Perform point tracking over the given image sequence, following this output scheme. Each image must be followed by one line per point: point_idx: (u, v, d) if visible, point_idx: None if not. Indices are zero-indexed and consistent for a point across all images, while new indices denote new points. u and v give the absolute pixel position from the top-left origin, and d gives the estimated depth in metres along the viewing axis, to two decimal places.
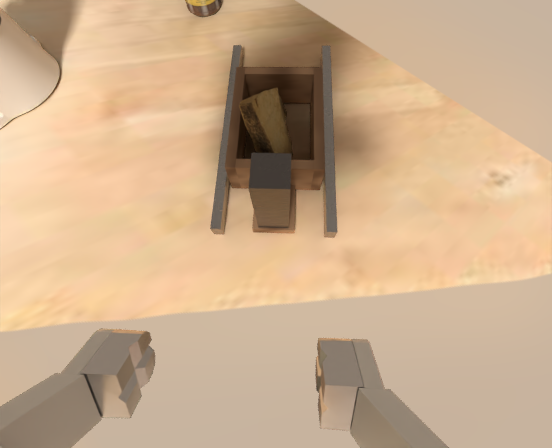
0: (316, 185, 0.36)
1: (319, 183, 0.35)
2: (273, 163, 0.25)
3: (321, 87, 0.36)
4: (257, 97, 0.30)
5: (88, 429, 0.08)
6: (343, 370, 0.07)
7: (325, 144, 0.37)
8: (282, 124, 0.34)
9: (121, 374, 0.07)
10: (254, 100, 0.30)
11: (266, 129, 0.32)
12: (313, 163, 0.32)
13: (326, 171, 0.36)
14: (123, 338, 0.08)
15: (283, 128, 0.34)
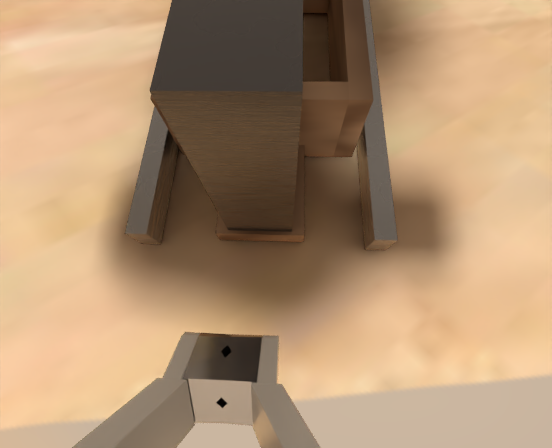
0: (346, 146, 0.18)
1: (353, 140, 0.17)
2: (242, 16, 0.07)
3: None
4: None
5: (185, 434, 0.08)
6: (242, 365, 0.07)
7: None
8: None
9: None
10: None
11: None
12: (346, 88, 0.15)
13: (366, 118, 0.18)
14: (212, 342, 0.08)
15: None
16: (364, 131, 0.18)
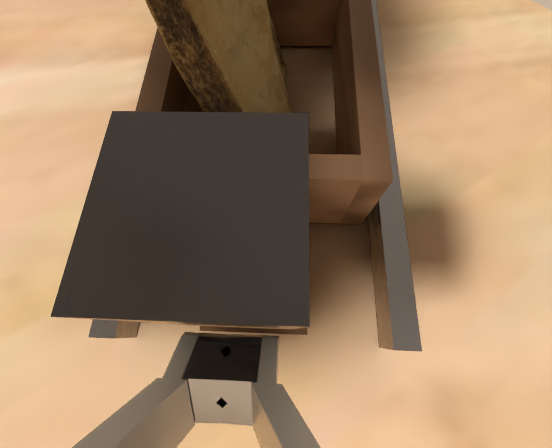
0: (356, 215, 0.15)
1: (365, 212, 0.15)
2: (213, 162, 0.05)
3: None
4: None
5: (185, 434, 0.08)
6: (242, 365, 0.07)
7: None
8: (275, 69, 0.13)
9: None
10: None
11: (229, 74, 0.12)
12: (359, 163, 0.12)
13: None
14: (212, 342, 0.08)
15: (277, 80, 0.14)
16: (378, 202, 0.15)
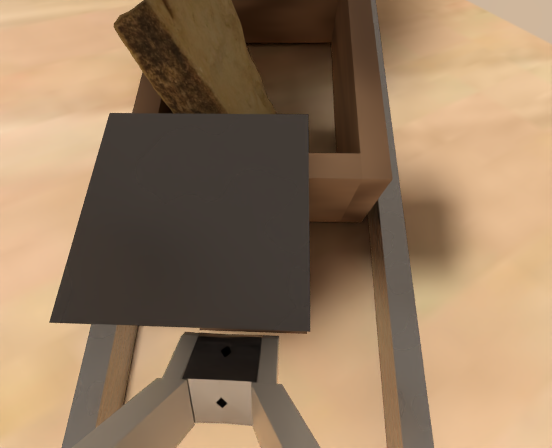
0: (356, 214, 0.15)
1: (364, 210, 0.15)
2: (212, 164, 0.05)
3: None
4: None
5: (185, 434, 0.08)
6: (242, 365, 0.07)
7: (380, 204, 0.15)
8: (256, 75, 0.13)
9: None
10: None
11: (217, 90, 0.11)
12: (358, 162, 0.12)
13: (389, 283, 0.13)
14: (212, 342, 0.08)
15: (261, 86, 0.13)
16: (387, 303, 0.13)
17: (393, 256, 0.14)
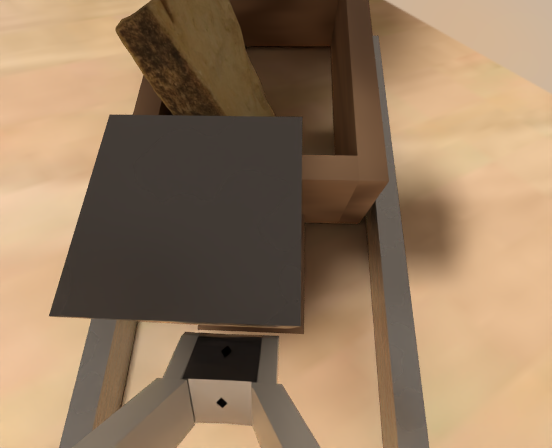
0: (353, 216, 0.15)
1: (362, 212, 0.15)
2: (209, 164, 0.05)
3: None
4: None
5: (185, 434, 0.08)
6: (242, 365, 0.07)
7: (388, 312, 0.13)
8: (255, 78, 0.13)
9: None
10: None
11: (217, 93, 0.11)
12: (356, 164, 0.12)
13: (399, 416, 0.12)
14: (212, 342, 0.08)
15: (260, 89, 0.14)
16: (397, 442, 0.11)
17: (403, 381, 0.12)
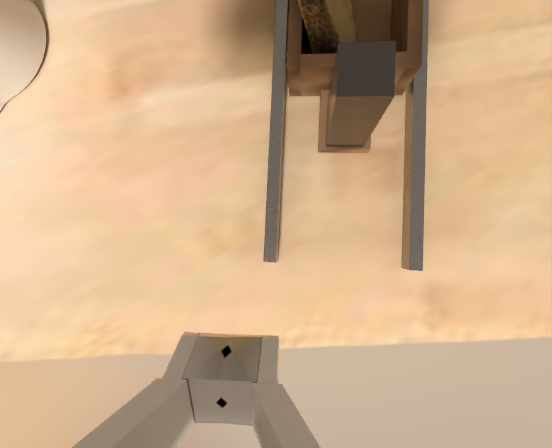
0: (400, 89, 0.28)
1: (405, 86, 0.27)
2: (369, 57, 0.18)
3: None
4: None
5: (185, 434, 0.08)
6: (242, 365, 0.07)
7: (413, 141, 0.27)
8: (350, 5, 0.24)
9: None
10: None
11: (334, 17, 0.23)
12: (405, 56, 0.24)
13: (412, 183, 0.27)
14: (212, 342, 0.08)
15: (351, 11, 0.25)
16: (410, 193, 0.27)
17: (416, 170, 0.27)
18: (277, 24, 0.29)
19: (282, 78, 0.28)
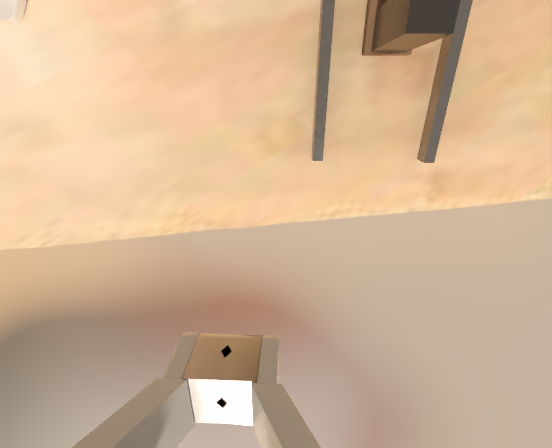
0: None
1: None
2: None
3: None
4: None
5: (185, 434, 0.08)
6: (242, 365, 0.07)
7: (450, 47, 0.30)
8: None
9: None
10: None
11: None
12: None
13: (441, 90, 0.32)
14: (212, 342, 0.08)
15: None
16: (437, 99, 0.32)
17: (447, 77, 0.31)
18: None
19: None
